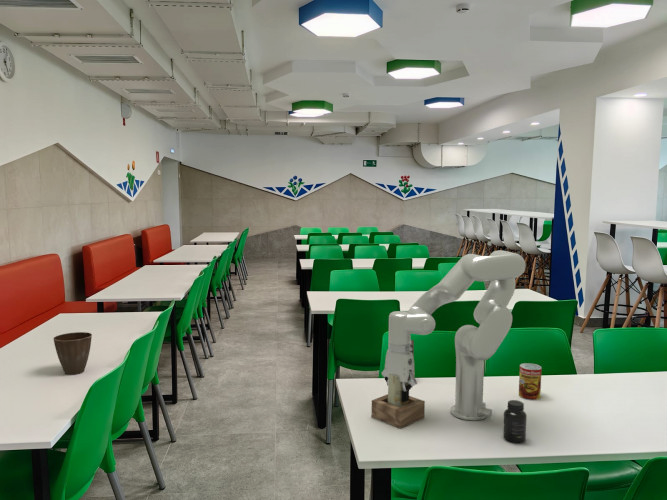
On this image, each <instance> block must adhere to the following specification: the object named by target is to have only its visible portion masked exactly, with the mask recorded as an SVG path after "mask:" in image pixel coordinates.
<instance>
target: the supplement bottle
mask: <svg viewBox="0 0 667 500" xmlns="http://www.w3.org/2000/svg"><path fill="white" fill-rule="evenodd" d="M524 410H525V405H524V402H522V401H520V400H516V399H515V400H514V399H512V400H511V399H510V400H508V401H507V408H506V409H505V410H504V412H503V428H502V429H503V431H502V432H503V433H502V436H503V438H504V440H505V441H507V442H509V443H512V444H517V445H518V444H523V443H524V442H526V439H527V438H526V437H527V420H528V418H527V413H526V411H524Z"/></svg>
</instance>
